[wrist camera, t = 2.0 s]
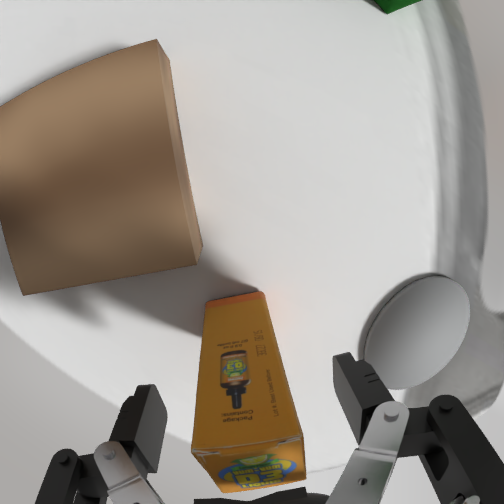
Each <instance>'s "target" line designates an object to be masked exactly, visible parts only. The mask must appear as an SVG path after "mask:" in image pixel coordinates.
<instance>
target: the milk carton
mask: <svg viewBox="0 0 504 504" xmlns="http://www.w3.org/2000/svg"><path fill="white" fill-rule="evenodd" d="M419 1H421V0H375V2H376V3H377V4H378V5H379V6H380V7H381V8H382V9H383V11H384V12H385V13H386V14H389V13H391V12H394V11H396V10H398V9H401V8H403V7H406V6H408V5H411V4H413V3H416V2H419Z"/></svg>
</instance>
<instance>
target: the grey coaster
mask: <svg viewBox="0 0 504 504" xmlns="http://www.w3.org/2000/svg"><path fill="white" fill-rule="evenodd" d="M469 318H470V304H469V299H468V296H467V294H466V292H465V290H464V289H463V288H462V287H461V286H460V285H459V284H458V283H456V282H455V281H453V280H452V279H450V278H447V277H444V276H430V277H425V278H422V279H419V280H417V281H415V282H413V283H411V284H409V285H408V286H406V287H405V288H403V289H402V290H401V291H399V292H398V293H397V294H396V295H395V296H394V297H393V298H392V299H391V300H389V302H388V303H387V304H386V305H385V306H384V307H383V309H382V310H381V311H380V313H379V314H378V316H377V317H376V319H375V321H374V322H373V324H372V326H371V328H370V330H369V333H368V336H367V339H366V343H365V348H364V361H366V362H367V363H369V364H371V365H372V367H373V368H374V370H375V371H376V374H378V376H379V377H380V380H382V382H383V383H384V385H385V386H386V388H387V389H393V390H399V389H406V388H410V387H413V386H416V385H418V384H421V383H423V382H425V381H426V380H428V379H430V378H431V377H433V376H434V375H435V374H437V373H438V372H439V371H440V370H441V369H442V368H443V367H444V366H445V365H446V364H447V363H448V362H449V361H450V360H451V359H452V357H453V356H454V355H455V353H456V352H457V350H458V349H459V347H460V345H461V343H462V341H463V339H464V337H465V334H466V331H467V328H468V324H469Z"/></svg>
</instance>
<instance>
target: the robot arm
mask: <svg viewBox="0 0 504 504" xmlns="http://www.w3.org/2000/svg"><path fill="white" fill-rule="evenodd" d="M333 383H334V389H335V392H336V395H337V397H338V399H339V402H340V404H341V406H342V409H343V411H344V413H345V415H346V418H347V420H348V422H349V425H350V427H351V429H352V432H353V434H354V436H355V438H356V441H357V443H358V445H360V446H359V447H358V449H357V448H356V449H355V450H354V452H353V453H352V455H351V457H350V459H349V461H348V463H347V465H346V467H345V470H344V471H343V474H342V475H341V477H340V479H339V481H338V483H337V484H336V486H335V488H334V490H333V492H332V493H331V495H330V496H328V495H325V494H318V493H307V492H306V488H305V487H301V488H296V489H290V490H285V491H279V492H275V493H273V494H270V495H267V496H264V497H261V498H258V499H255V500H252V501H240V500H231V499H224V498H211V499H194V504H380V502H381V499H382V497H383V494H384V492H385V489H386V486H387V484H388V482H389V479H390V477H391V474H392V471H393V469H394V466H395V463H396V460H397V458H399V457H408V456H417V455H418V456H419V458H420V460H421V462H422V464H423V466H424V468H425V470H426V473H427V474H428V477H429V479H430V481H431V483H432V485H433V488H434V489H435V492H436V494H437V496H438V499H439V501H440V503H441V504H504V464H503V462H502V460H501V459H500V458H499V456H498V454H497V453H496V451H495V450H494V448H493V447H492V445H491V444H490V442H489V441H488V440H487V438H486V437H485V435H484V434H483V432H482V431H481V429H480V428H479V427H478V425H477V424H476V422H475V421H474V420H473V418H472V417H471V415H470V414H469V413H468V411H467V410H466V408H465V407H464V406H463V404H462V403H461V402H460V400H459V399H458V398H456V397H454V396H452V395H440V396H437V397H436V398H434V399H433V400H432V401H431V402H430V405H429V406H428V407H420V408H407V407H406V405H404V404H403V403H400V402H397V401H395V400H394V399H393V397H392V396H391V394H390V393H389V391H388V389H387V388H386V386H385V385H384V383H383V382H382V380H380V377H379V376H378V374H376V371H375V370H374V368H373V367H372V365H371V364H369V363H367V362H366V361H364V360H360V361H355V360H354V358H353V356H352V355H351V353H350V352H347V353H343V354H339V355H335V356H333ZM166 424H167V410H166V407H165V405H164V403H163V401H162V399H161V396H160V394H159V392H158V390H157V388H156V386H155V385H154V384H149V385H138V386H137V388H136V391H135V394H134V396H129V397H128V398H127V399H126V401H125V402H124V403H123V404H122V407H121V410H120V413H119V415H118V419H117V420H116V423H115V425H114V428H113V431H112V433H111V436H110V439H109V441H108V442H104V443H102V444H100V445H99V446H98V447H97V448H96V449H95V452H94V453H93V454H88V455H82V456H78V455H77V454H76V452H75V451H74V450H72V449H62V450H60V451H58V452H57V453H56V454H55V455H54V456H53V458H52V460H51V462H50V465H49V467H48V470H47V473H46V475H45V477H44V480H43V483H42V486H41V488H40V491H39V494H38V496H37V499H36V502H35V504H106V501H107V497H108V496H109V497H110V499H111V500H112V502H113V504H165V503H164V502H163V501H162V499H161V498H160V496H159V495H158V494H157V493H156V491H155V490H154V488H153V487H152V486H151V484H150V483H149V481H148V480H147V474H148V473H157V469H158V464H159V458H160V453H161V448H162V443H163V438H164V433H165V428H166ZM76 491H77V493H76ZM75 494H76V496H75ZM74 497H75V500H74ZM73 501H74V503H73Z"/></svg>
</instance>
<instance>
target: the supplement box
mask: <svg viewBox="0 0 504 504" xmlns="http://www.w3.org/2000/svg"><path fill="white" fill-rule="evenodd" d="M191 453H192V454H193V455H194V457H195V458H196V459H197V461H198V462H199V463H200V464H201V465H202V466H203V468H204V469H205V470H206V471H207V472H208V474H209V475H210V476H211V478H212V479H213V480H214V482H215V484H216V485H217V486H218V488H219V489H220V490H221V492H223V493H231V492H240V491H247V490H254V489H260V488H267V487H272V486H278V485H283V484H288V483H293V482H297V481H301V480H305V479H306V466H305V451H304V437H303V432H302V429H301V426H300V423H299V420H298V416H297V413H296V409H295V405H294V402H293V399H292V395H291V392H290V388H289V385H288V381H287V377H286V374H285V370H284V367H283V363H282V359H281V355H280V352H279V348H278V344H277V341H276V337H275V333H274V329H273V326H272V322H271V318H270V315H269V310H268V306H267V302H266V298H265V294H264V293H263V292H261V291H258V292H253V293H249V294H244V295H238V296H233V297H228V298H223V299H218V300H212V301H208V302H206V304H205V316H204V325H203V335H202V344H201V353H200V362H199V373H198V384H197V394H196V406H195V417H194V429H193V437H192V444H191Z"/></svg>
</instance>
